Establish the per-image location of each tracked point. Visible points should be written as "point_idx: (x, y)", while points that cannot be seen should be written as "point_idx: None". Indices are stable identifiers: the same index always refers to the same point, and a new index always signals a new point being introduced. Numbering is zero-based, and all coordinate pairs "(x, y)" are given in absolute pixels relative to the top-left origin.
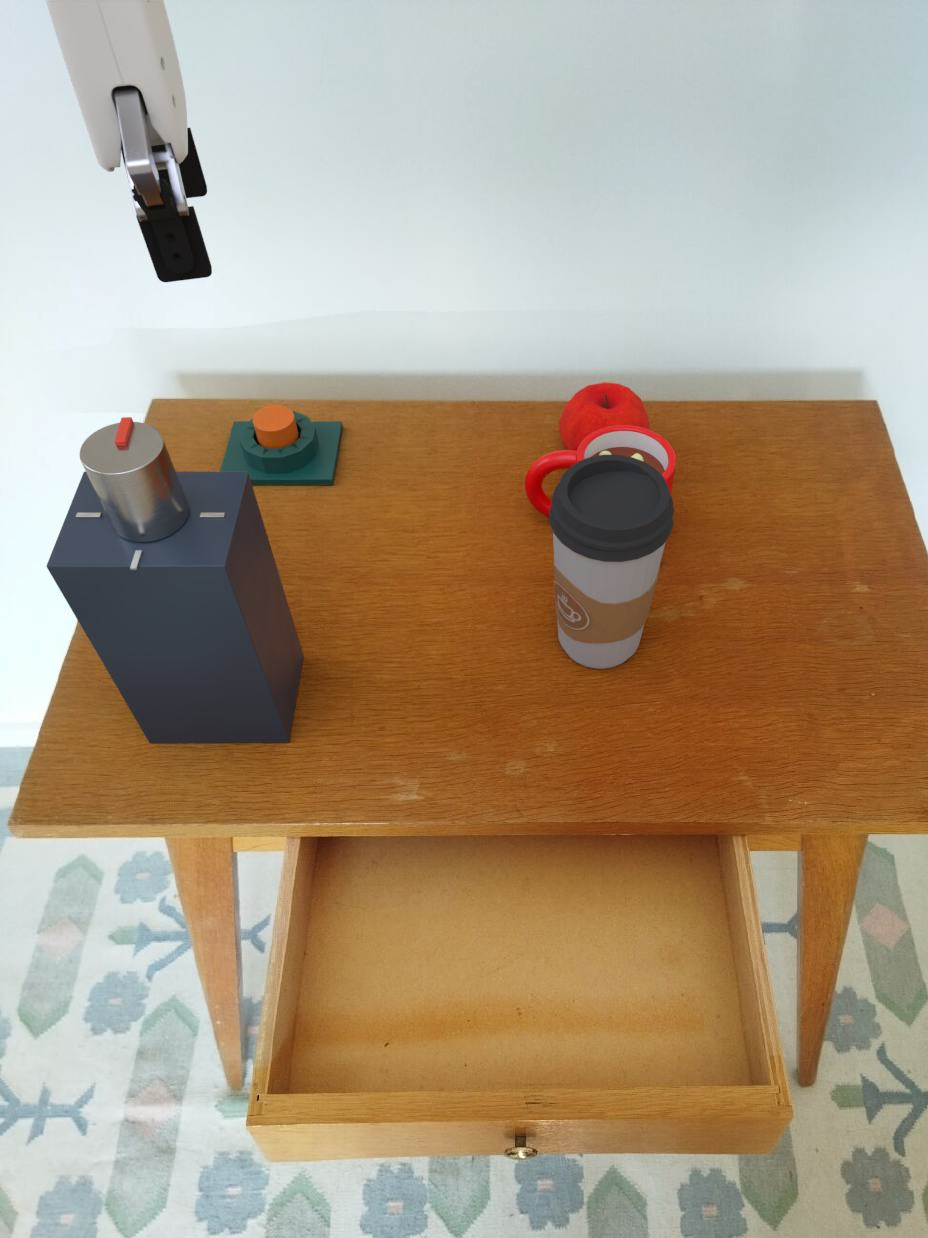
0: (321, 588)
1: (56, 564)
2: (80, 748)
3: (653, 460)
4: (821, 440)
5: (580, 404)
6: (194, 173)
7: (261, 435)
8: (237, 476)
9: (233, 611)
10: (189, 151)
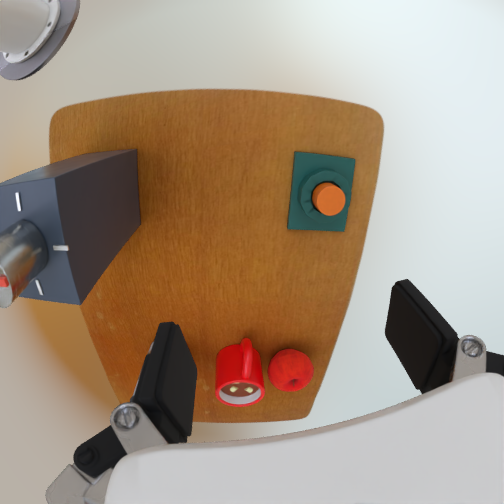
0: (192, 227)
1: None
2: (81, 119)
3: (248, 394)
4: (287, 410)
5: (291, 375)
6: (397, 350)
7: (318, 190)
8: (74, 298)
9: None
10: (410, 373)
